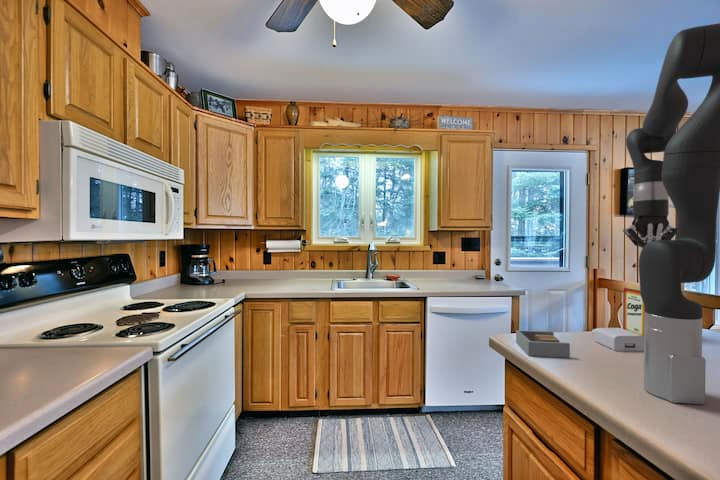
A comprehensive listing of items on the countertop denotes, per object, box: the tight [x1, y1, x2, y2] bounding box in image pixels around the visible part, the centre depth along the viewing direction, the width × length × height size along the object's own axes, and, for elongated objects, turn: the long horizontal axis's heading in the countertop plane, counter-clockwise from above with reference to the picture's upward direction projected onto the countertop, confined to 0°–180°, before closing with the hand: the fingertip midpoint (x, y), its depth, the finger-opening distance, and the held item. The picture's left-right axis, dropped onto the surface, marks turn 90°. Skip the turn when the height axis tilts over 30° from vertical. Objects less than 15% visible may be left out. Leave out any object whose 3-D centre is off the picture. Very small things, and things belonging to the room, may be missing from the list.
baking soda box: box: [622, 286, 645, 336], centre depth 116 cm, size 10×6×16 cm
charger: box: [590, 327, 644, 352], centre depth 108 cm, size 5×9×15 cm
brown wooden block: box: [535, 335, 560, 342], centre depth 102 cm, size 5×5×4 cm
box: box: [515, 329, 571, 359], centre depth 102 cm, size 12×11×4 cm
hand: (650, 262), depth 95 cm, fingers closed
